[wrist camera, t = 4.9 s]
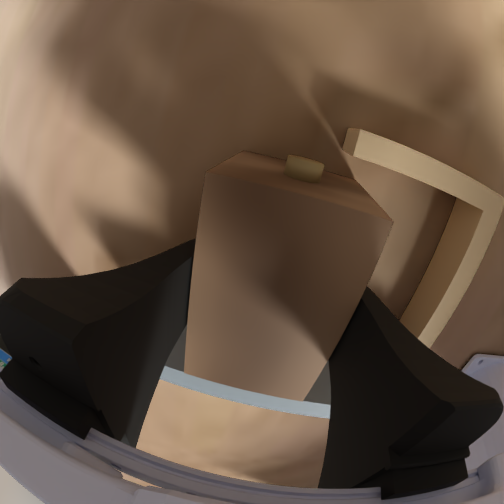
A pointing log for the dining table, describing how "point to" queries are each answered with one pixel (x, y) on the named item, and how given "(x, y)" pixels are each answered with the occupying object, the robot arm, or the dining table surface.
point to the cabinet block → (277, 271)
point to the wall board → (430, 288)
